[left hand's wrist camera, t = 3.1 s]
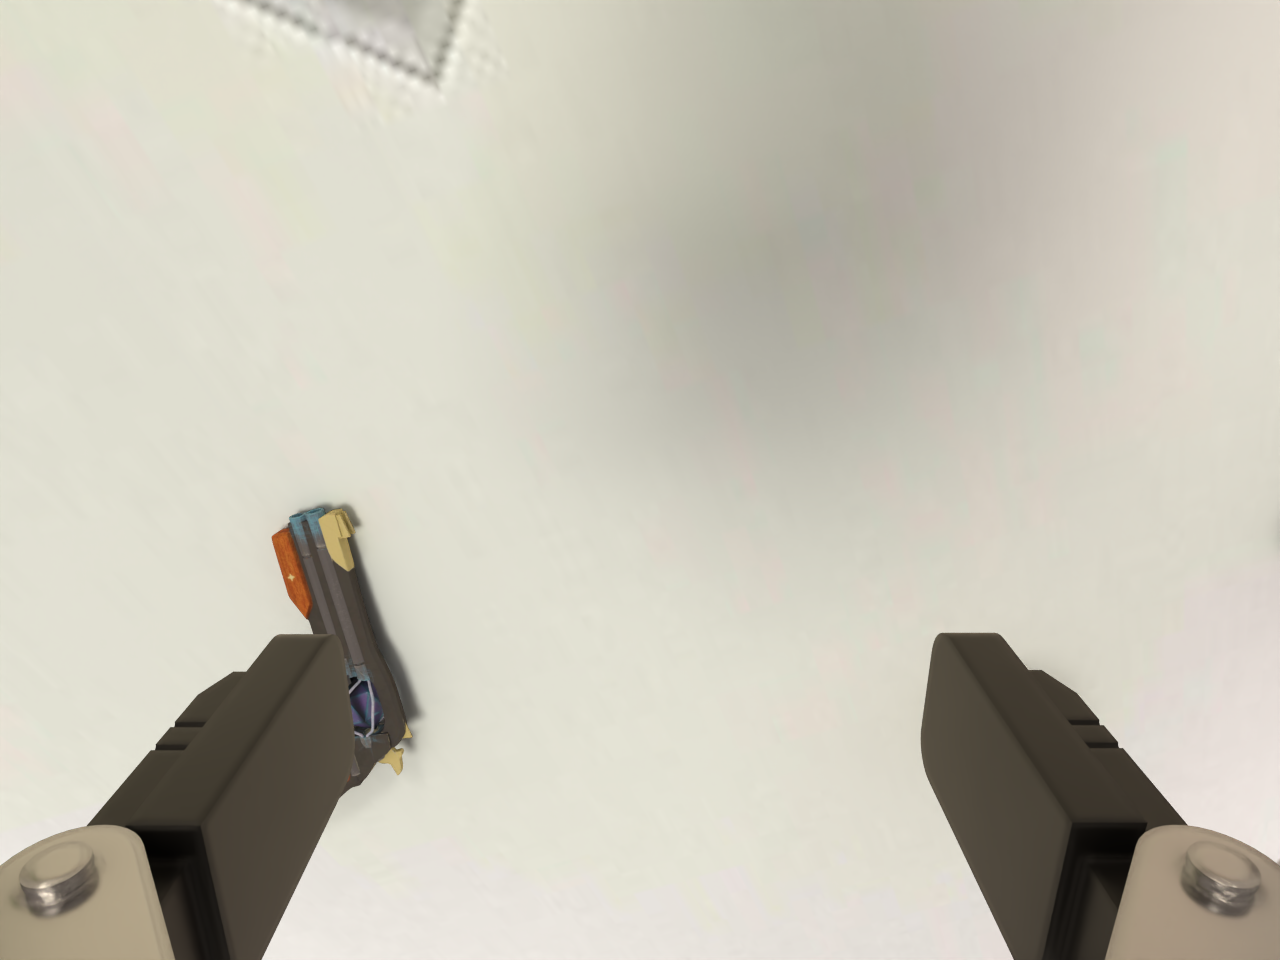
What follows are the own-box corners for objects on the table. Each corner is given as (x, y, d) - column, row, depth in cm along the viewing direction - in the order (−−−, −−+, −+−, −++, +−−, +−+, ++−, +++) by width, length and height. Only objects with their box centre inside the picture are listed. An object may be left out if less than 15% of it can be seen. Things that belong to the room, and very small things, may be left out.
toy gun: (270, 840, 49) (429, 827, 48) (159, 540, 44) (332, 514, 42) (294, 809, 52) (445, 796, 50) (192, 523, 47) (356, 497, 45)
